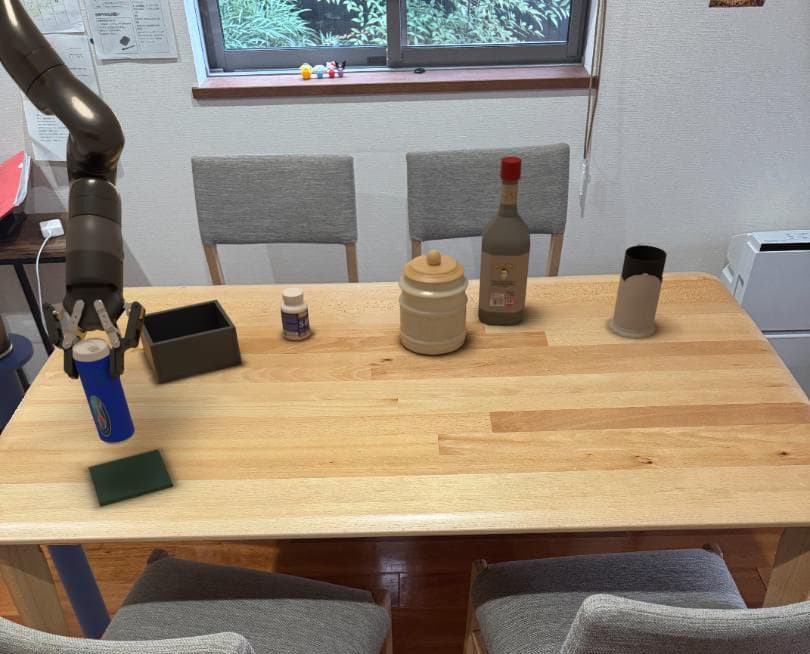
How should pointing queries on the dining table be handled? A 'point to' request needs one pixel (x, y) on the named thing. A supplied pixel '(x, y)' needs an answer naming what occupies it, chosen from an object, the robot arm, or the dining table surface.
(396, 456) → the dining table surface
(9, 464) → the dining table surface
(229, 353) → the dark grey open box
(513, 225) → the liquor
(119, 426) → the beverage can
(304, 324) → the pill bottle
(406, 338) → the jar
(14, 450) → the dining table surface
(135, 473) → the mat
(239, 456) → the dining table surface
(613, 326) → the glass holder
